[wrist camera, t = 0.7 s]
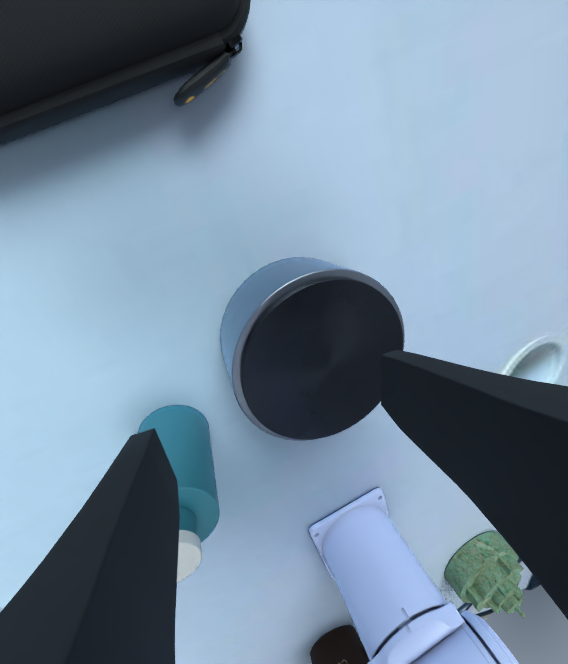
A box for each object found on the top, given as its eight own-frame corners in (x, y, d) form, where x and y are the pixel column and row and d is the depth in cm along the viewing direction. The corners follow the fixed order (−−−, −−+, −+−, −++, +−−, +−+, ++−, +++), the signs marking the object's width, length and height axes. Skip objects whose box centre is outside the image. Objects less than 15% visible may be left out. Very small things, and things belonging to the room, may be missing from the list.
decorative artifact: (511, 530, 43) (469, 532, 38) (567, 583, 36) (525, 592, 32) (475, 578, 45) (433, 585, 41) (523, 636, 39) (478, 651, 34)
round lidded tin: (371, 361, 22) (418, 396, 18) (253, 419, 21) (273, 474, 16) (344, 233, 18) (397, 238, 14) (192, 295, 16) (196, 323, 12)
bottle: (218, 439, 21) (239, 563, 13) (158, 469, 20) (145, 617, 13) (191, 393, 19) (197, 507, 11) (123, 425, 18) (83, 568, 11)
